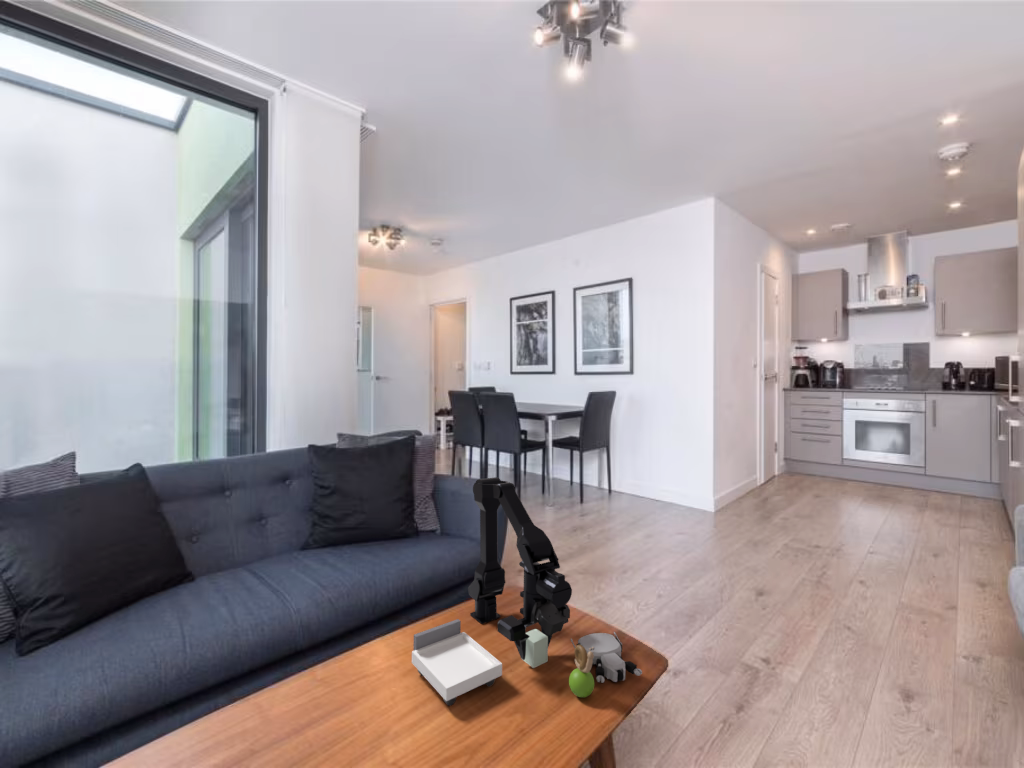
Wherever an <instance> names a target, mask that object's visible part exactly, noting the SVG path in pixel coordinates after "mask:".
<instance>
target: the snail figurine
mask: <svg viewBox="0 0 1024 768" xmlns="http://www.w3.org/2000/svg"><path fill="white" fill-rule="evenodd" d="M576 645H577V644H576ZM576 645H575V648H574V657H575V658H574V663H575V667H576V668H574V669H573V670H572V671H571V672H570V674H569V676H568V686H569V688H570V691H571V692H572V693H573V694H574V696H576V697H578V698H581V699H582V698H587V697H589V696H591V694H592V693H593V691H594V689H595V679H594V678H595V677H594V676H593V674H592V673H591V670H592V667H593V664H592V663H593V657H594V654H593V652H591V651H592V650H593V651H594V647H592V648H590V649H589V650H590V651H589V652H588V654H587V651H586V649H585V648H584V647H583V646H582V645H577V646H576Z"/></svg>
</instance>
